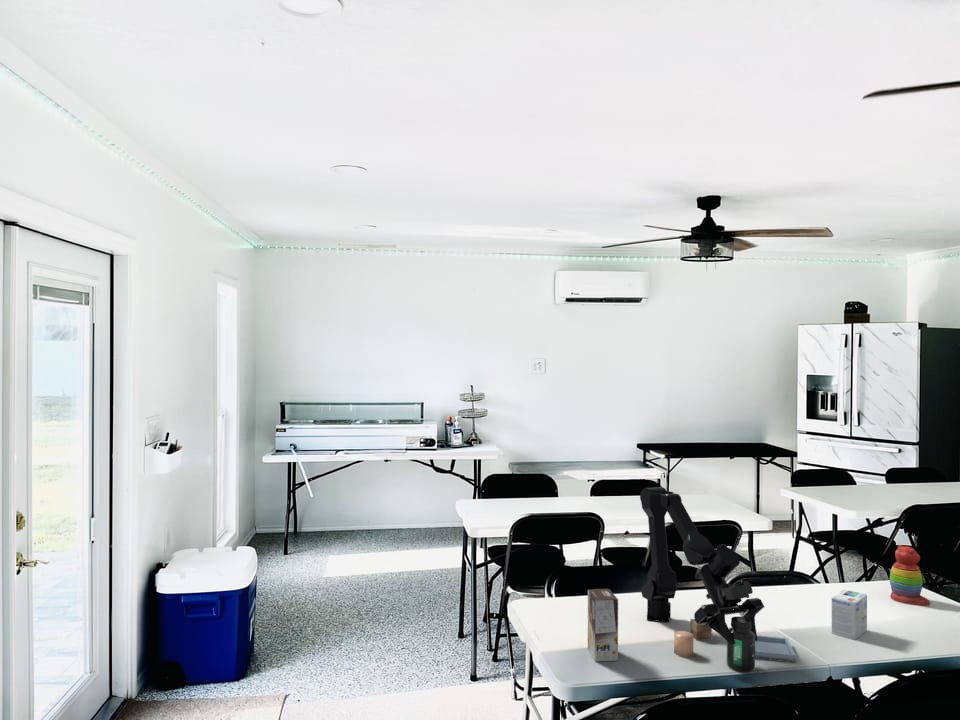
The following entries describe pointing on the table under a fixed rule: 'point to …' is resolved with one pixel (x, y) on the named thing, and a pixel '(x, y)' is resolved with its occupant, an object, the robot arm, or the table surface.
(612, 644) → the coffee box
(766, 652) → the tray
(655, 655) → the table surface
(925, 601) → the stacking bear
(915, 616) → the table surface
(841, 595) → the light bulb box
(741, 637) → the supplement bottle
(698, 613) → the robot arm
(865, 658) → the table surface
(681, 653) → the cylinder block
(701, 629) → the walnut block
